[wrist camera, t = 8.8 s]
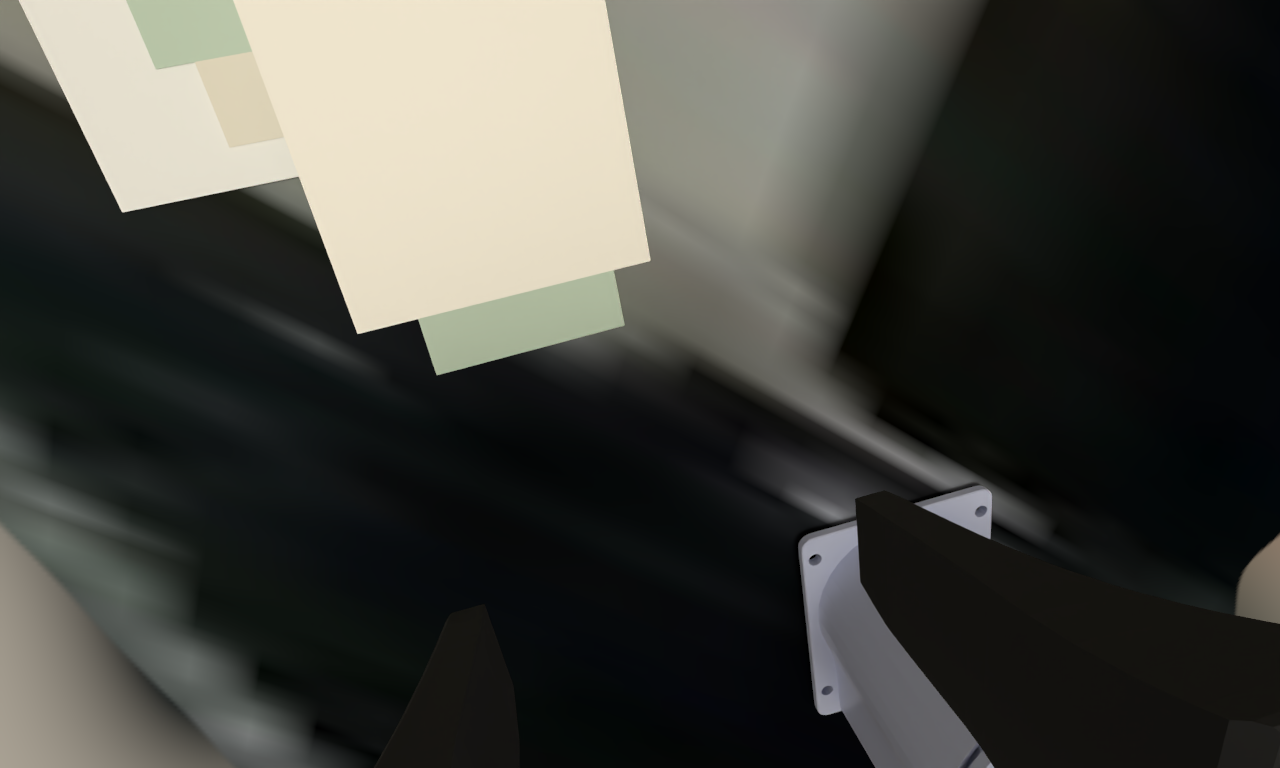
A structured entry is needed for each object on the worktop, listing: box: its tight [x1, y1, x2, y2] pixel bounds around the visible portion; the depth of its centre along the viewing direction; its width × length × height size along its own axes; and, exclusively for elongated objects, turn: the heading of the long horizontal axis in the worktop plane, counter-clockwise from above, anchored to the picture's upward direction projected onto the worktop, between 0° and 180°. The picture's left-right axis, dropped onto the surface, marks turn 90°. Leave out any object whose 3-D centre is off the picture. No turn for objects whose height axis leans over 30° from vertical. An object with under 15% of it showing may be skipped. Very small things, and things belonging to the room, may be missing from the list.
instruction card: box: [19, 0, 299, 212], centre depth 17 cm, size 6×8×1 cm
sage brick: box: [418, 270, 625, 375], centre depth 16 cm, size 9×4×5 cm, turn 10°
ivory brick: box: [233, 0, 651, 334], centre depth 12 cm, size 4×4×5 cm
